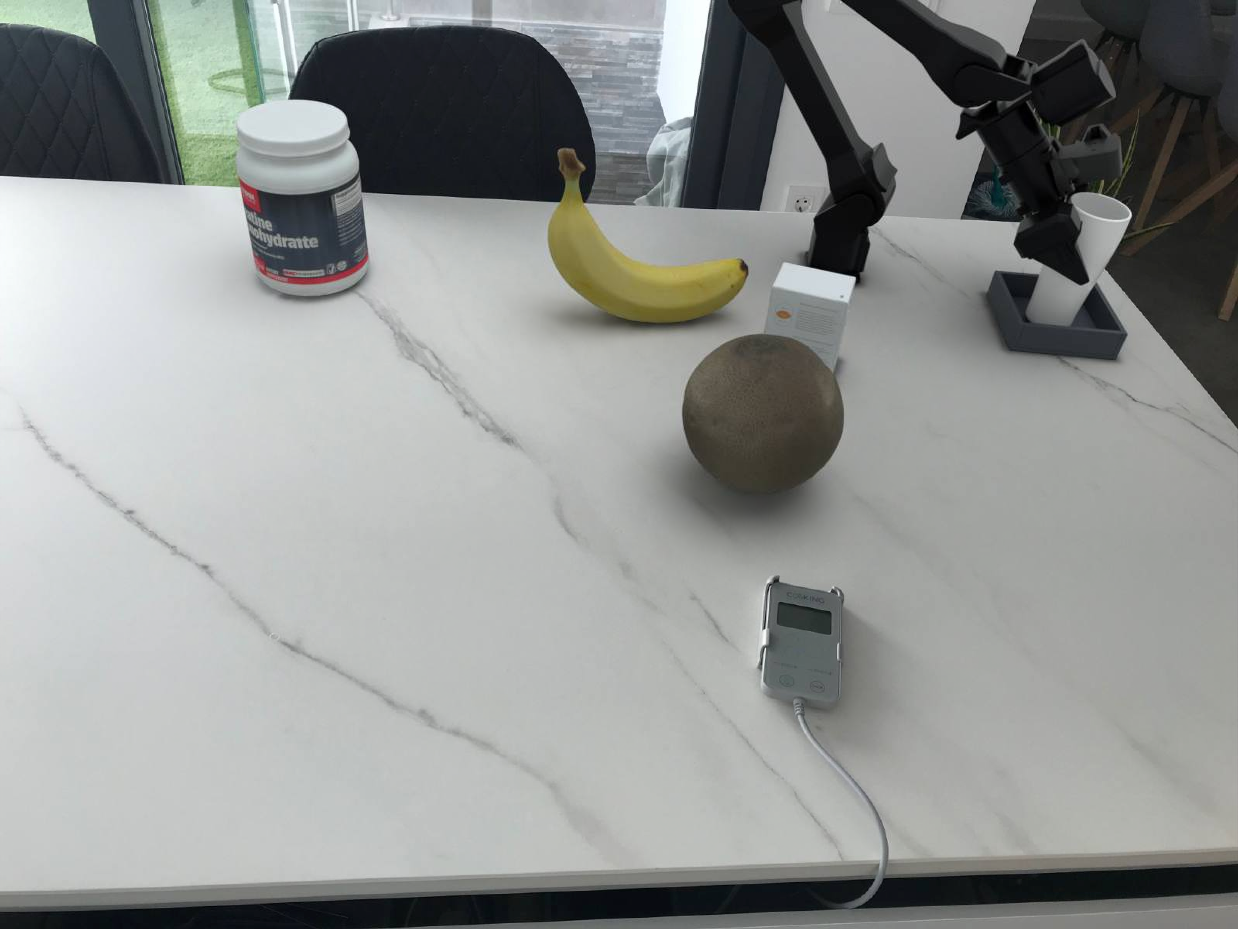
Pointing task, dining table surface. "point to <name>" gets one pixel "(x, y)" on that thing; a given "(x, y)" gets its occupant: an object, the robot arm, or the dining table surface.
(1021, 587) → the dining table surface
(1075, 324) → the tray
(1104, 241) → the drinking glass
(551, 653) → the dining table surface
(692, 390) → the cantaloupe
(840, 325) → the small box
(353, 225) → the supplement tub
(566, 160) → the banana
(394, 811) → the dining table surface
